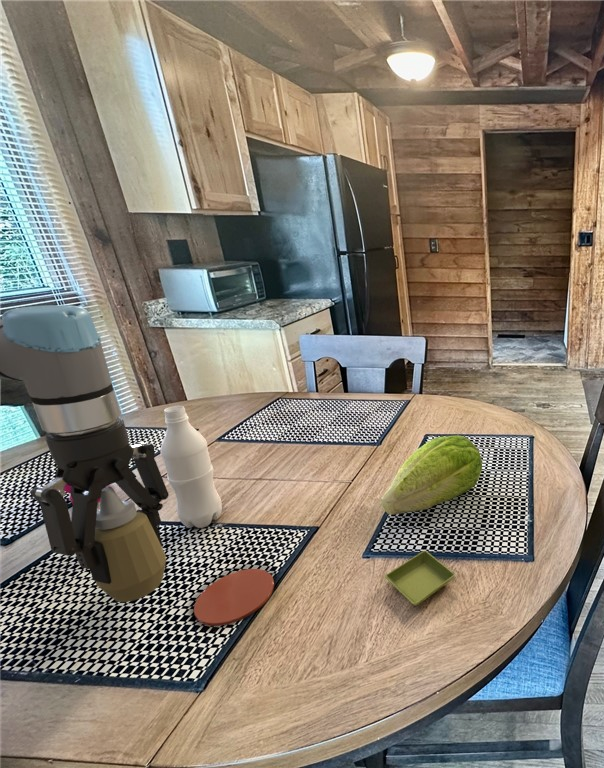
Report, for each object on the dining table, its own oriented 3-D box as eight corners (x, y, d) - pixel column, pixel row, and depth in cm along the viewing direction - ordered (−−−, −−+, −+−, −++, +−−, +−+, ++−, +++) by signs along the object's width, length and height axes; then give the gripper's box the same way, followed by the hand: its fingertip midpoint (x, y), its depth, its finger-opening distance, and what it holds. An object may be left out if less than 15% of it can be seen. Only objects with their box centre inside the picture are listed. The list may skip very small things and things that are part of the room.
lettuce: (356, 478, 90) (382, 474, 79) (444, 430, 106) (476, 421, 94) (385, 536, 91) (415, 540, 79) (468, 480, 107) (502, 477, 95)
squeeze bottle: (95, 618, 59) (54, 512, 53) (111, 578, 66) (77, 481, 60) (166, 597, 63) (136, 496, 57) (175, 561, 70) (149, 468, 64)
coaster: (186, 598, 67) (185, 595, 67) (259, 561, 75) (259, 559, 75) (206, 640, 61) (205, 637, 61) (285, 595, 69) (284, 592, 68)
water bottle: (188, 513, 87) (158, 403, 79) (228, 507, 90) (202, 399, 81) (176, 535, 81) (141, 418, 73) (219, 527, 83) (190, 413, 75)
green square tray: (456, 584, 72) (456, 574, 71) (414, 615, 66) (414, 605, 65) (425, 558, 77) (425, 549, 77) (384, 585, 71) (383, 575, 70)
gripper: (136, 395, 65) (170, 518, 73) (-42, 455, 47) (29, 610, 55) (177, 401, 64) (207, 525, 71) (10, 464, 46) (75, 622, 53)
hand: (130, 562), depth 63 cm, fingers closed on squeeze bottle, 6 cm apart
